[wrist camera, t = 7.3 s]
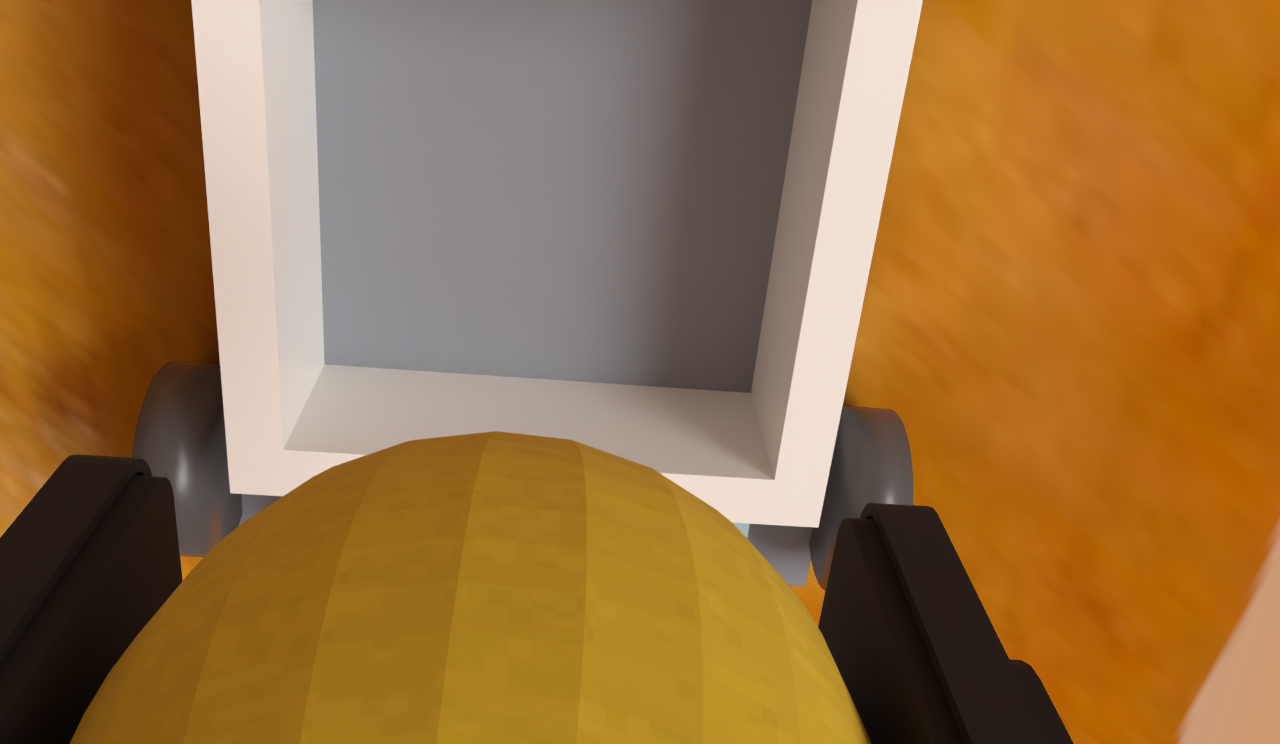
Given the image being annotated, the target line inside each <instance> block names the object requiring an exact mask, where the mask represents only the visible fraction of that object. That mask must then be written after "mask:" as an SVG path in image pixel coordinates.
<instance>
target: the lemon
mask: <svg viewBox="0 0 1280 744" xmlns="http://www.w3.org/2000/svg"><path fill="white" fill-rule="evenodd" d="M70 744H872V743H871V740H870V738H869V736H868V734H867V732H866V729H865V727H864V725H863V723H862V721H861V718H860V716H859V714H858V712H857V709H856V707H855V705H854V703H853V701H852V698H851V696H850V694H849V692H848V690H847V688H846V685H845V683H844V681H843V679H842V677H841V674H840V672H839V670H838V668H837V666H836V663H835V661H834V659H833V657H832V655H831V653H830V650H829V648H828V646H827V644H826V642H825V639H824V637H823V635H822V633H821V631H820V630H819V628H818V626H817V625H816V623H815V621H814V620H813V618H812V616H811V615H810V613H809V611H808V610H807V608H806V606H805V605H804V603H803V602H802V601H801V600H800V598H799V597H798V596H797V595H796V593H795V592H794V591H793V590H792V588H791V587H790V586H789V585H788V583H787V582H786V581H785V580H784V579H783V577H782V576H781V575H780V574H779V573H778V572H777V571H776V570H775V569H774V568H773V566H772V565H771V564H770V563H769V562H768V561H767V560H766V559H765V558H764V557H763V555H762V554H761V553H760V552H759V551H758V550H757V549H756V548H755V547H754V546H753V544H752V543H751V542H750V541H749V540H748V539H747V538H746V537H745V536H744V535H743V533H742V532H741V531H740V530H739V529H738V528H737V527H736V526H735V525H734V524H733V523H732V522H731V521H730V520H728V519H727V518H726V517H725V516H723V515H722V514H721V513H720V512H719V511H717V510H716V509H715V508H713V507H712V506H710V505H708V504H707V503H705V502H704V501H702V500H701V499H699V498H698V497H696V496H694V495H693V494H691V493H690V492H688V491H687V490H685V489H684V488H682V487H680V486H679V485H677V484H676V483H674V482H673V481H671V480H670V479H668V478H666V477H665V476H663V475H662V474H660V473H659V472H657V471H656V470H654V469H652V468H650V467H647V466H644V465H642V464H639V463H636V462H633V461H630V460H627V459H625V458H622V457H619V456H616V455H613V454H610V453H608V452H605V451H602V450H599V449H596V448H593V447H591V446H588V445H585V444H582V443H579V442H576V441H573V440H570V439H561V438H552V437H543V436H535V435H526V434H517V433H508V432H499V431H494V432H484V433H475V434H465V435H456V436H446V437H437V438H428V439H419V440H411V441H407V442H404V443H401V444H398V445H395V446H392V447H389V448H386V449H383V450H380V451H377V452H374V453H371V454H369V455H366V456H363V457H360V458H357V459H354V460H351V461H348V462H345V463H342V464H339V465H336V466H333V467H331V468H329V469H327V470H325V471H323V472H322V473H320V474H318V475H316V476H314V477H312V478H310V479H309V480H307V481H306V482H304V483H303V484H301V485H300V486H298V487H297V488H295V489H294V490H292V491H290V492H289V493H287V494H286V495H284V496H283V497H281V498H280V499H278V500H277V501H275V502H274V503H272V504H271V505H269V506H268V507H266V508H265V509H263V510H262V511H260V512H259V513H257V514H256V515H254V516H253V517H251V518H250V519H248V520H246V521H245V522H243V523H242V524H241V525H240V526H238V527H237V528H236V529H235V530H233V531H232V532H231V533H230V534H228V535H227V536H226V537H225V538H224V539H222V540H221V541H220V542H219V543H217V544H216V545H215V546H214V547H213V548H212V549H211V551H210V552H209V553H208V554H207V555H206V556H205V557H204V558H203V559H202V560H201V561H200V562H199V563H198V564H197V565H196V567H195V568H194V569H193V570H192V571H191V572H190V573H189V574H188V576H187V577H186V578H185V579H184V580H183V581H182V583H181V584H180V585H179V586H178V587H177V589H176V590H175V591H174V592H173V593H172V595H171V596H170V597H169V598H168V599H167V600H166V602H165V603H164V604H163V605H162V606H161V608H160V609H159V610H158V611H157V612H156V614H155V615H154V616H153V617H152V618H151V619H150V621H149V622H148V623H147V624H146V625H145V627H144V628H143V629H142V630H141V631H140V633H139V634H138V635H137V636H136V637H135V639H134V640H133V641H132V643H131V644H130V645H129V647H128V648H127V649H126V651H125V652H124V653H123V655H122V656H121V657H120V659H119V660H118V661H117V663H116V664H115V665H114V667H113V668H112V669H111V671H110V672H109V674H108V675H107V677H106V678H105V680H104V682H103V683H102V685H101V687H100V688H99V690H98V692H97V693H96V695H95V697H94V698H93V700H92V701H91V703H90V705H89V706H88V708H87V710H86V711H85V713H84V715H83V717H82V719H81V721H80V723H79V725H78V727H77V729H76V731H75V733H74V736H73V738H72V740H71V742H70Z"/></svg>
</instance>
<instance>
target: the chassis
mask: <svg viewBox="0 0 1280 744" xmlns="http://www.w3.org/2000/svg"><path fill="white" fill-rule="evenodd" d="M191 2H192V15H193V27H194V40H195V53H196V65H197V78H198V91H199V103H200V116H201V129H202V141H203V154H204V167H205V180H206V192H207V205H208V218H209V230H210V243H211V256H212V268H213V281H214V294H215V306H216V319H217V332H218V344H219V357H220V364H207V363H192V362H177V361H172V362H169V363H167V364H165V365H164V366H163V367H162V368H161V369H160V370H159V371H158V373H157V374H156V376H155V377H154V379H153V381H152V383H151V385H150V387H149V389H148V391H147V394H146V396H145V399H144V402H143V405H142V408H141V412H140V415H139V419H138V424H137V428H136V433H135V439H134V446H133V454H132V458H140V459H143V460H145V461H146V462H147V463H148V465H149V467H150V470H151V473H152V476H155V477H166V478H167V479H169V480H170V483H171V485H172V489H173V494H174V504H175V513H176V523H177V533H178V543H179V552H180V556H190V557H205V556H206V555H207V554H208V553H209V552H210V551H211V549H212V548H213V547H214V546H215V545H216V544H217V543H219V542H220V541H221V540H222V539H224V538H225V537H226V536H227V535H228V534H230V533H231V532H232V531H233V530H235V529H236V528H237V527H238V526H240V525H241V524H242V523H243V522H245V521H246V520H248V519H250V518H251V517H253V516H254V515H256V514H257V513H259V512H260V511H262V510H263V509H265V508H266V507H268V506H269V505H271V504H272V503H274V502H275V501H277V500H278V499H280V498H281V497H283V496H284V495H286V494H287V493H289V492H290V491H292V490H294V489H295V488H297V487H298V486H300V485H301V484H303V483H304V482H306V481H307V480H309V479H310V478H312V477H314V476H316V475H318V474H320V473H322V472H323V471H325V470H327V469H329V468H331V467H333V466H336V465H339V464H342V463H345V462H348V461H351V460H354V459H357V458H360V457H363V456H366V455H369V454H371V453H374V452H377V451H380V450H383V449H386V448H389V447H392V446H395V445H398V444H401V443H404V442H407V441H411V440H419V439H428V438H437V437H446V436H456V435H465V434H475V433H484V432H494V431H499V432H508V433H517V434H526V435H535V436H543V437H552V438H561V439H570V440H573V441H576V442H579V443H582V444H585V445H588V446H591V447H593V448H596V449H599V450H602V451H605V452H608V453H610V454H613V455H616V456H619V457H622V458H625V459H627V460H630V461H633V462H636V463H639V464H642V465H644V466H647V467H650V468H652V469H654V470H656V471H657V472H659V473H660V474H662V475H663V476H665V477H666V478H668V479H670V480H671V481H673V482H674V483H676V484H677V485H679V486H680V487H682V488H684V489H685V490H687V491H688V492H690V493H691V494H693V495H694V496H696V497H698V498H699V499H701V500H702V501H704V502H705V503H707V504H708V505H710V506H712V507H713V508H715V509H716V510H717V511H719V512H720V513H721V514H722V515H723V516H725V517H726V518H727V519H728V520H730V521H731V522H732V523H733V524H734V525H735V526H736V527H737V528H738V529H739V530H740V531H741V532H742V533H743V535H744V536H745V537H746V538H747V539H748V540H749V541H750V542H751V543H752V544H753V546H754V547H755V548H756V549H757V550H758V551H759V552H760V553H761V554H762V555H763V557H764V558H765V559H766V560H767V561H768V562H769V563H770V564H771V565H772V566H773V568H774V569H775V570H776V571H777V572H778V573H779V574H780V575H781V576H782V577H783V579H784V580H785V581H786V582H787V583H788V585H789V586H806V581H807V576H808V571H809V566H810V561H811V560H812V565H813V569H814V573H815V576H816V579H817V581H818V583H819V585H820V586H821V588H822V589H824V590H826V587H827V582H828V577H829V573H830V568H831V563H832V558H833V553H834V548H835V543H836V539H837V534H838V530H839V526H840V524H841V522H842V520H843V519H844V518H860V516H861V513H862V511H863V509H864V507H865V506H866V505H867V504H868V503H882V504H898V505H913V473H912V461H911V453H910V447H909V442H908V438H907V434H906V431H905V428H904V425H903V423H902V421H901V419H900V417H899V416H898V414H897V413H896V412H895V411H893V410H891V409H880V408H865V407H850V406H843V401H844V396H845V391H846V386H847V381H848V376H849V371H850V366H851V361H852V356H853V351H854V346H855V340H856V335H857V330H858V325H859V320H860V315H861V310H862V305H863V300H864V295H865V290H866V285H867V280H868V275H869V270H870V265H871V260H872V255H873V250H874V245H875V240H876V235H877V229H878V224H879V219H880V214H881V209H882V204H883V199H884V194H885V189H886V184H887V179H888V174H889V169H890V164H891V159H892V154H893V149H894V144H895V139H896V134H897V129H898V123H899V118H900V113H901V108H902V103H903V98H904V93H905V88H906V83H907V78H908V73H909V68H910V63H911V58H912V53H913V48H914V43H915V38H916V33H917V28H918V23H919V18H920V12H921V7H922V2H923V0H191Z"/></svg>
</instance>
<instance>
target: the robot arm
mask: <svg viewBox="0 0 1280 744" xmlns="http://www.w3.org/2000/svg"><path fill="white" fill-rule="evenodd" d="M181 583H182V572H181V562H180V552H179V543H178V533H177V523H176V513H175V504H174V494H173V489H172V485H171V483H170V480H169V479H167V478H166V477H155V476H152V473H151V470H150V467H149V465H148V463H147V462H146V461H145V460H143V459H140V458H124V457H107V456H91V455H71V456H69V457H68V458H67V459H66V460H64V461H63V462H62V464H61V465H60V466H59V467H58V468H57V470H56V471H55V472H54V473H53V474H52V476H51V477H50V478H49V479H48V481H47V482H46V483H45V484H44V485H43V487H42V488H41V489H40V490H39V492H38V493H37V494H36V495H35V496H34V498H33V499H32V500H31V501H30V502H29V504H28V505H27V506H26V507H25V509H24V510H23V511H22V512H21V513H20V515H19V516H18V517H17V518H16V520H15V521H14V522H13V523H12V524H11V526H10V527H9V528H8V529H7V530H6V532H5V533H4V534H3V535H2V537H1V538H0V744H70V742H71V740H72V738H73V736H74V733H75V731H76V729H77V727H78V725H79V723H80V721H81V719H82V717H83V715H84V713H85V711H86V710H87V708H88V706H89V705H90V703H91V701H92V700H93V698H94V697H95V695H96V693H97V692H98V690H99V688H100V687H101V685H102V683H103V682H104V680H105V678H106V677H107V675H108V674H109V672H110V671H111V669H112V668H113V667H114V665H115V664H116V663H117V661H118V660H119V659H120V657H121V656H122V655H123V653H124V652H125V651H126V649H127V648H128V647H129V645H130V644H131V643H132V641H133V640H134V639H135V637H136V636H137V635H138V634H139V633H140V631H141V630H142V629H143V628H144V627H145V625H146V624H147V623H148V622H149V621H150V619H151V618H152V617H153V616H154V615H155V614H156V612H157V611H158V610H159V609H160V608H161V606H162V605H163V604H164V603H165V602H166V600H167V599H168V598H169V597H170V596H171V595H172V593H173V592H174V591H175V590H176V589H177V587H178V586H179V585H180V584H181ZM818 628H819V630H820V631H821V633H822V635H823V637H824V639H825V642H826V644H827V646H828V648H829V650H830V653H831V655H832V657H833V659H834V661H835V663H836V666H837V668H838V670H839V672H840V674H841V677H842V679H843V681H844V683H845V685H846V688H847V690H848V692H849V694H850V696H851V698H852V701H853V703H854V705H855V707H856V709H857V712H858V714H859V716H860V718H861V721H862V723H863V725H864V727H865V729H866V732H867V734H868V736H869V738H870V740H871V743H872V744H1073V742H1072V740H1071V738H1070V736H1069V734H1068V732H1067V730H1066V728H1065V726H1064V724H1063V722H1062V720H1061V718H1060V717H1059V715H1058V713H1057V711H1056V709H1055V707H1054V705H1053V703H1052V701H1051V699H1050V697H1049V695H1048V693H1047V691H1046V689H1045V688H1044V686H1043V684H1042V682H1041V680H1040V678H1039V677H1038V675H1037V674H1036V673H1035V671H1034V670H1033V668H1032V667H1031V666H1030V665H1028V664H1027V663H1025V662H1023V661H1022V660H1009V658H1008V656H1007V654H1006V652H1005V650H1004V648H1003V646H1002V644H1001V642H1000V640H999V638H998V636H997V634H996V632H995V630H994V628H993V626H992V624H991V622H990V620H989V618H988V615H987V613H986V611H985V609H984V607H983V605H982V603H981V601H980V599H979V597H978V595H977V593H976V591H975V589H974V587H973V585H972V583H971V581H970V579H969V577H968V575H967V573H966V571H965V569H964V567H963V565H962V563H961V561H960V559H959V557H958V555H957V553H956V551H955V548H954V546H953V544H952V542H951V540H950V538H949V536H948V534H947V532H946V530H945V528H944V526H943V524H942V522H941V520H940V518H939V516H938V514H937V513H936V511H935V510H934V509H933V508H932V507H929V506H914V505H898V504H882V503H868V504H867V505H866V506H865V507H864V509H863V511H862V513H861V516H860V518H844V519H843V520H842V522H841V524H840V526H839V530H838V534H837V539H836V543H835V548H834V553H833V558H832V563H831V568H830V573H829V577H828V582H827V587H826V592H825V597H824V602H823V607H822V611H821V616H820V621H819V626H818Z"/></svg>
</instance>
